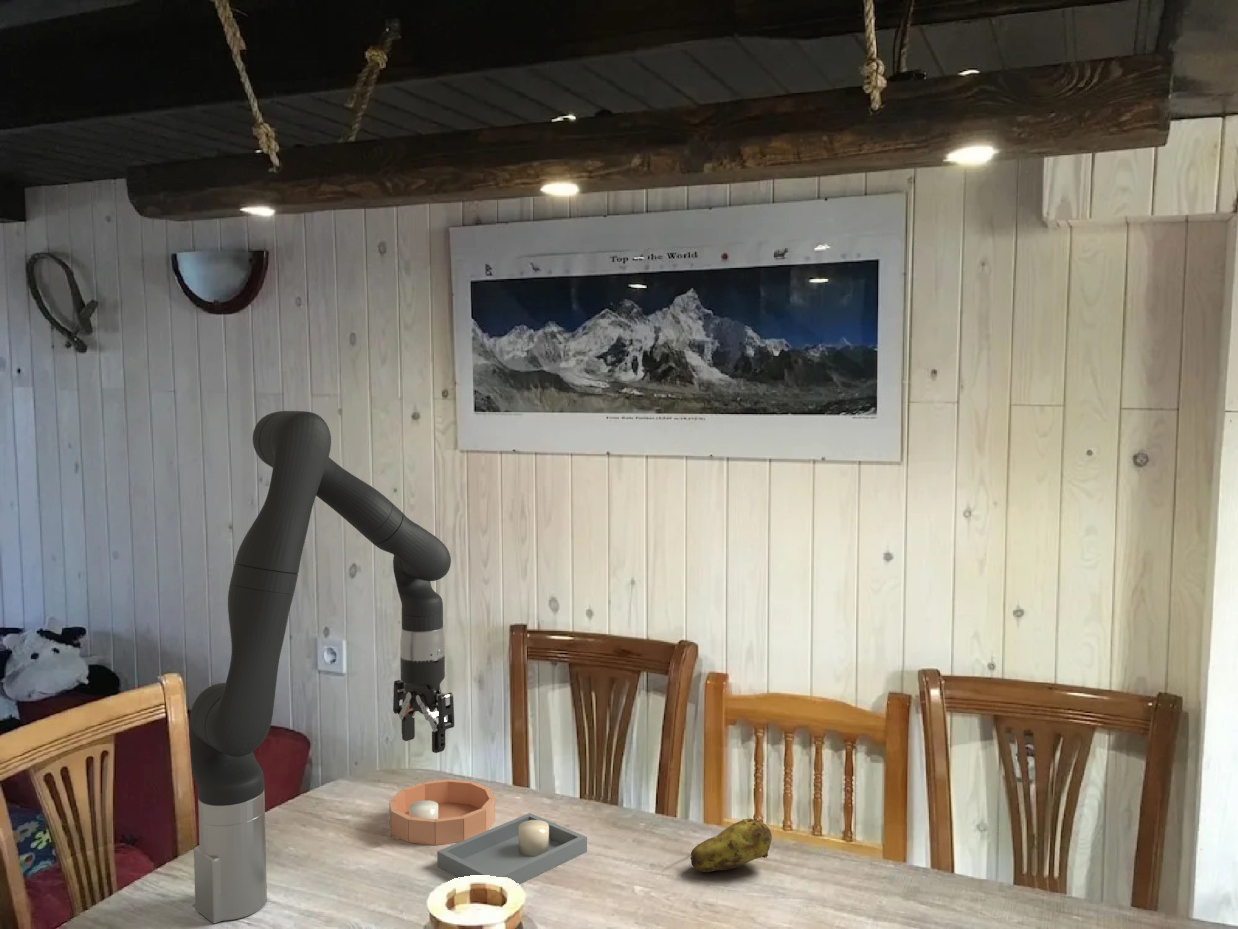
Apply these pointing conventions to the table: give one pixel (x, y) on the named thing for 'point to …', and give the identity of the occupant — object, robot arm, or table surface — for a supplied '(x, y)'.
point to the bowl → (443, 812)
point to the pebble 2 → (533, 838)
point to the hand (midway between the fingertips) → (423, 745)
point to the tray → (510, 852)
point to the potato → (733, 847)
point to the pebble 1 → (424, 809)
